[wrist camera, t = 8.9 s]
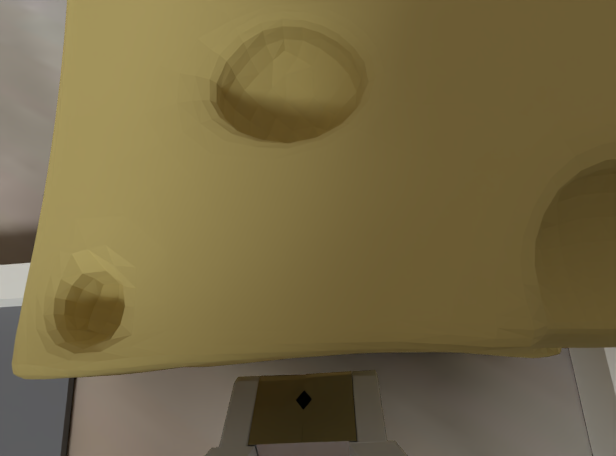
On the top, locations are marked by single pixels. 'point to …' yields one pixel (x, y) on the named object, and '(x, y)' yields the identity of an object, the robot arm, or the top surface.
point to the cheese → (324, 183)
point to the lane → (58, 392)
